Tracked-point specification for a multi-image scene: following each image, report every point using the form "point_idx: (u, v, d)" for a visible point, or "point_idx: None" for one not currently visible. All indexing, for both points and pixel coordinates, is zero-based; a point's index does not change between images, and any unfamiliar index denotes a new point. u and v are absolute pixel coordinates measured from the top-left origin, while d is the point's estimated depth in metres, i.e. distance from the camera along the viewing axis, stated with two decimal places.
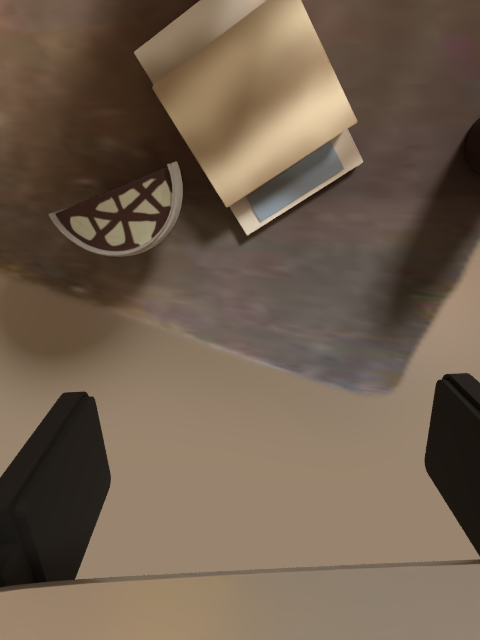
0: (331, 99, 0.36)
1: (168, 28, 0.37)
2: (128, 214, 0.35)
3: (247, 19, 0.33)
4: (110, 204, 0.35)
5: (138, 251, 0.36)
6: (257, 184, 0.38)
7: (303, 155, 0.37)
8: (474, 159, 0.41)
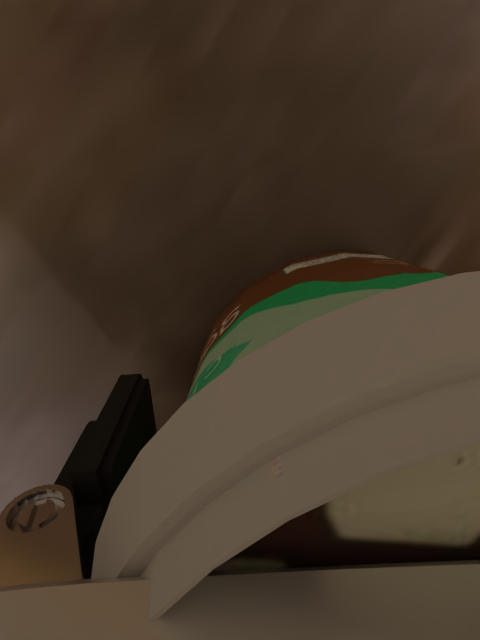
0: None
1: None
2: None
3: None
4: None
5: None
6: None
7: None
8: None
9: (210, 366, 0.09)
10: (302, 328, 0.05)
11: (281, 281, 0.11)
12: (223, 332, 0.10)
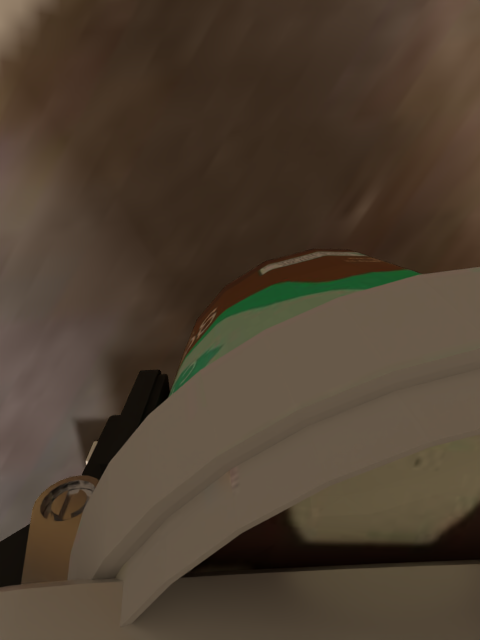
0: None
1: None
2: None
3: None
4: None
5: None
6: None
7: None
8: None
9: (186, 371, 0.09)
10: (262, 335, 0.05)
11: (256, 282, 0.11)
12: (200, 336, 0.10)
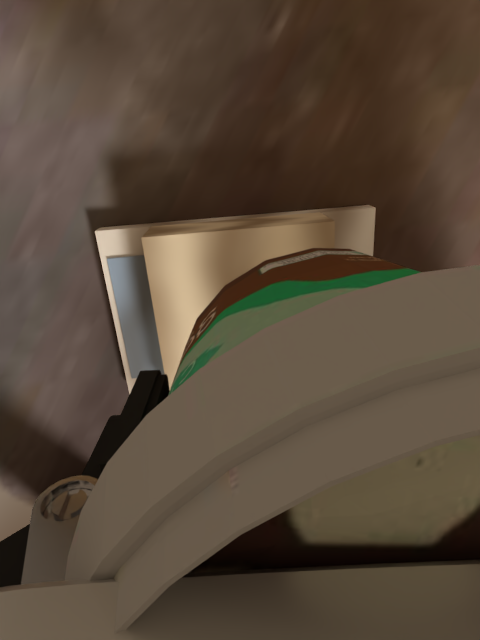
0: None
1: None
2: None
3: None
4: None
5: None
6: (154, 293, 0.26)
7: (164, 359, 0.28)
8: None
9: (185, 371, 0.09)
10: (262, 334, 0.05)
11: (256, 281, 0.11)
12: (199, 335, 0.10)
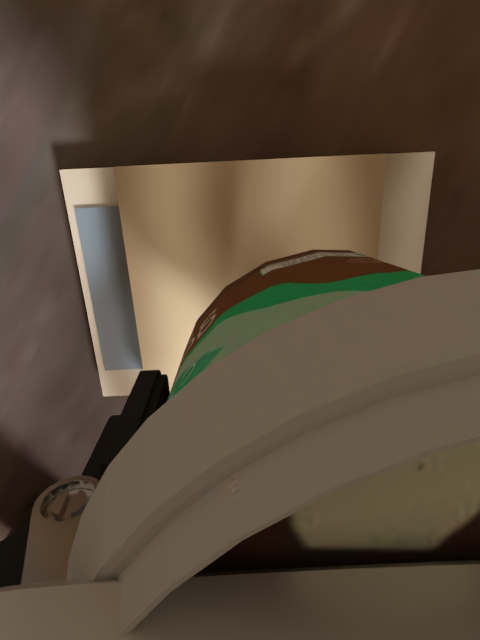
0: None
1: (422, 225, 0.23)
2: None
3: None
4: None
5: None
6: (129, 249, 0.19)
7: (142, 343, 0.21)
8: None
9: (185, 373, 0.09)
10: (263, 338, 0.05)
11: (257, 283, 0.11)
12: (200, 337, 0.10)
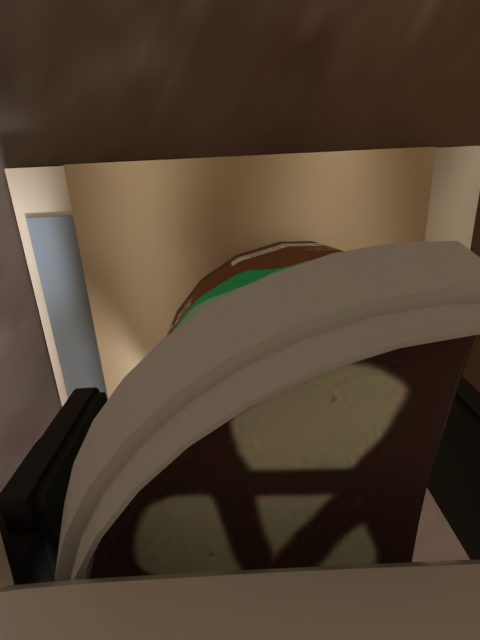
0: None
1: (467, 238, 0.18)
2: None
3: None
4: None
5: None
6: (90, 274, 0.14)
7: (110, 393, 0.16)
8: None
9: None
10: (211, 307, 0.06)
11: (226, 273, 0.12)
12: (177, 323, 0.12)
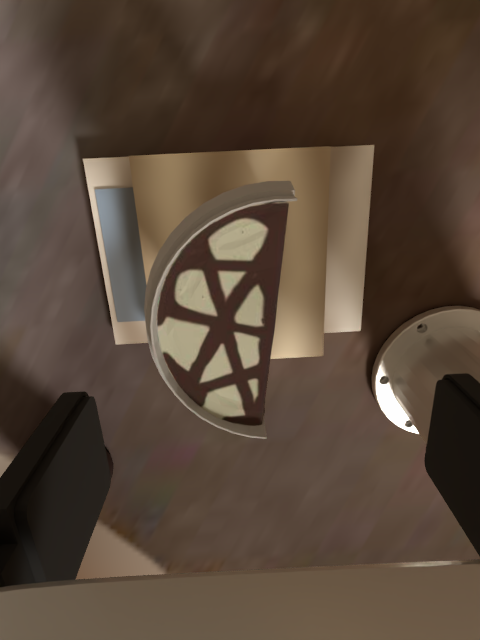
0: None
1: (367, 202, 0.29)
2: (222, 333, 0.18)
3: (321, 299, 0.28)
4: (252, 317, 0.18)
5: (148, 319, 0.18)
6: (140, 218, 0.25)
7: None
8: None
9: None
10: (202, 204, 0.17)
11: None
12: None
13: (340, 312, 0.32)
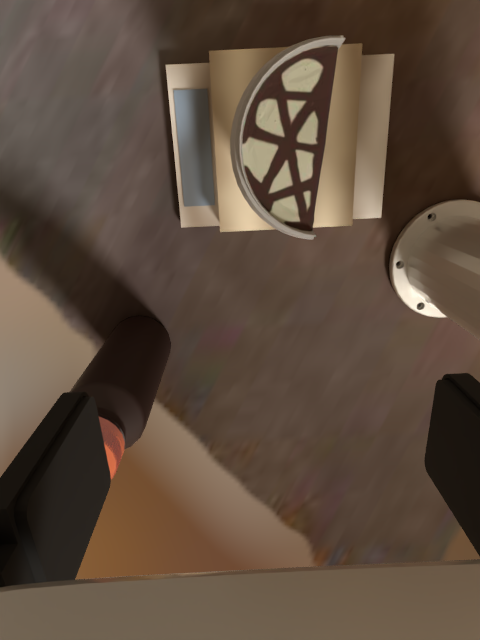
0: (251, 217, 0.36)
1: (388, 103, 0.37)
2: (287, 151, 0.26)
3: (352, 174, 0.35)
4: (309, 136, 0.25)
5: (236, 137, 0.25)
6: (214, 103, 0.33)
7: (217, 167, 0.35)
8: (136, 321, 0.43)
9: None
10: None
11: None
12: None
13: (365, 200, 0.40)
